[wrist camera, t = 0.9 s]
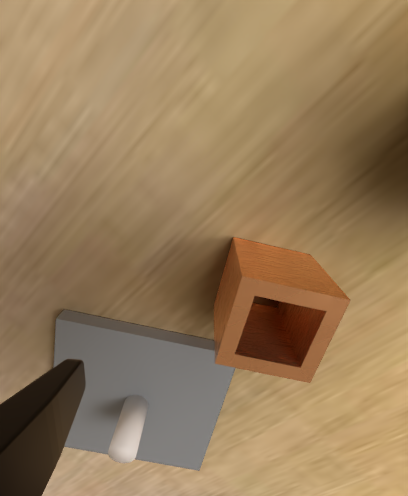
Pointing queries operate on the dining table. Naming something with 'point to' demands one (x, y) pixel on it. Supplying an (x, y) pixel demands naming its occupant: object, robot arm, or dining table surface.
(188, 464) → the stand
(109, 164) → the dining table surface
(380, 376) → the dining table surface
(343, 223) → the dining table surface
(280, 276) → the hollow wooden cube
